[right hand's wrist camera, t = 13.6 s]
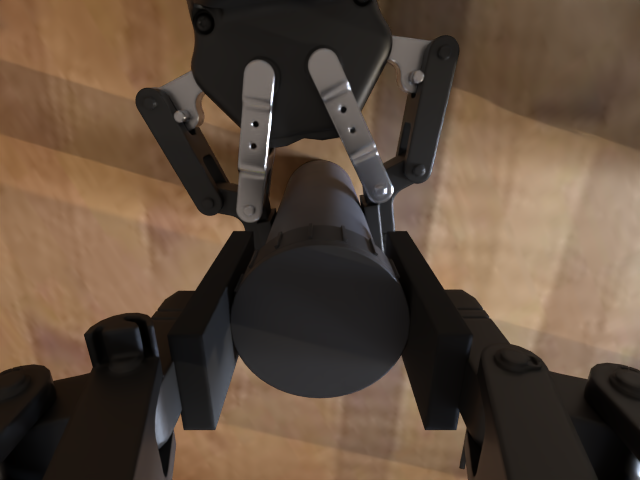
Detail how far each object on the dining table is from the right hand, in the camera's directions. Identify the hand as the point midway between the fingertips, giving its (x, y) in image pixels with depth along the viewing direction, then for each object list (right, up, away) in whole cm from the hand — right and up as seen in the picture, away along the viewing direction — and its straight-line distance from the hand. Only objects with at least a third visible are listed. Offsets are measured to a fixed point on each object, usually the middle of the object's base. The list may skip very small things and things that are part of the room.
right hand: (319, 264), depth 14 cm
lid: (0, -1, -4) cm, 4 cm away
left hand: (0, -1, +5) cm, 5 cm away
